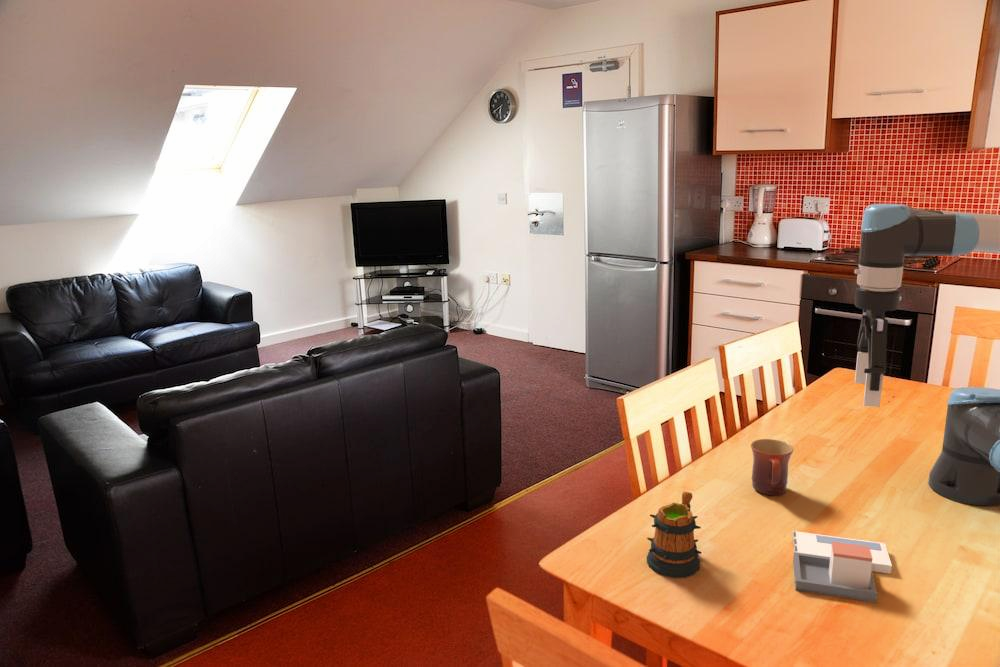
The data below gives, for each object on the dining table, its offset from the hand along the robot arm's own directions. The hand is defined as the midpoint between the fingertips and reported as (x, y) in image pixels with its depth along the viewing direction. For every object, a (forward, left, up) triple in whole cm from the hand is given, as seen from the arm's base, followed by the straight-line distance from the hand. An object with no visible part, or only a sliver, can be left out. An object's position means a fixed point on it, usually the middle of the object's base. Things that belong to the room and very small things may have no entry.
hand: (866, 394), depth 146 cm
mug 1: (+33, +26, -27) cm, 50 cm away
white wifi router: (+4, +16, -27) cm, 31 cm away
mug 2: (+16, -7, -27) cm, 32 cm away
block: (+4, +25, -26) cm, 37 cm away
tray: (+6, +25, -27) cm, 37 cm away
